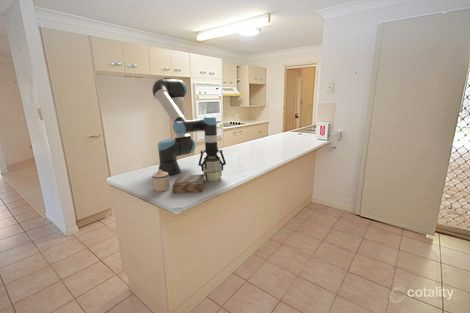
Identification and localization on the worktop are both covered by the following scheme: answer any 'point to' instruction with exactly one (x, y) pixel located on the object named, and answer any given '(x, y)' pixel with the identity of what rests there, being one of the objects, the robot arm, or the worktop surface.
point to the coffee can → (212, 169)
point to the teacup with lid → (161, 181)
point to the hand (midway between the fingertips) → (212, 175)
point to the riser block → (188, 183)
